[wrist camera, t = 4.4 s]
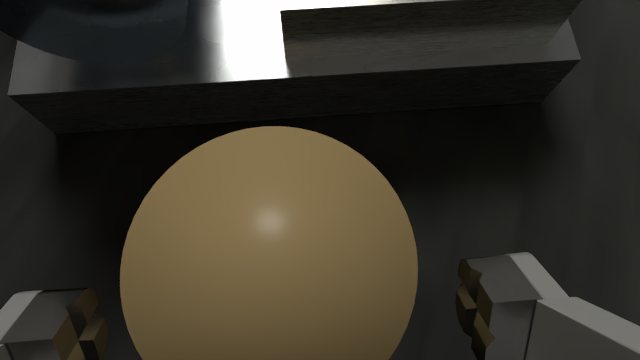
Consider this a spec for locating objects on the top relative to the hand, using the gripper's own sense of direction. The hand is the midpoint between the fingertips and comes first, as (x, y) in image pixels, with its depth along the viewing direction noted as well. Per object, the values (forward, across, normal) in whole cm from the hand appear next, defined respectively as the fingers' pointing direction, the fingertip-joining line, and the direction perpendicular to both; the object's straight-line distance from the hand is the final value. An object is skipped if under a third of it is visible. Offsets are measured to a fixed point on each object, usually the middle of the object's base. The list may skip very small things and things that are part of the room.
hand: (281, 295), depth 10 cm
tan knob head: (+4, 0, +4) cm, 6 cm away
